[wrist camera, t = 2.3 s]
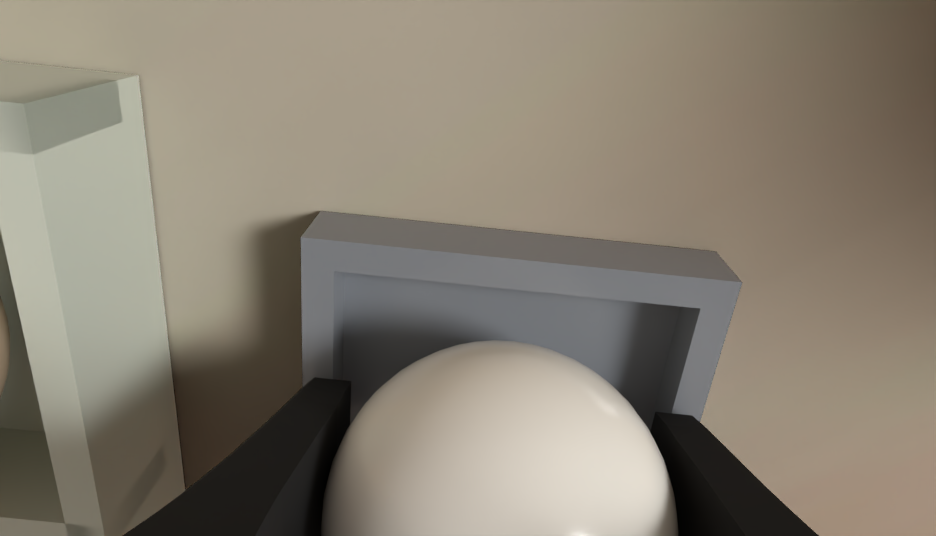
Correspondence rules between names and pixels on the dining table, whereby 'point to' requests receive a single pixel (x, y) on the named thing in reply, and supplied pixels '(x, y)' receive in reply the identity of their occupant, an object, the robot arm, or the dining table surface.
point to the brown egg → (4, 347)
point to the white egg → (498, 452)
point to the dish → (512, 304)
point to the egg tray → (81, 309)
